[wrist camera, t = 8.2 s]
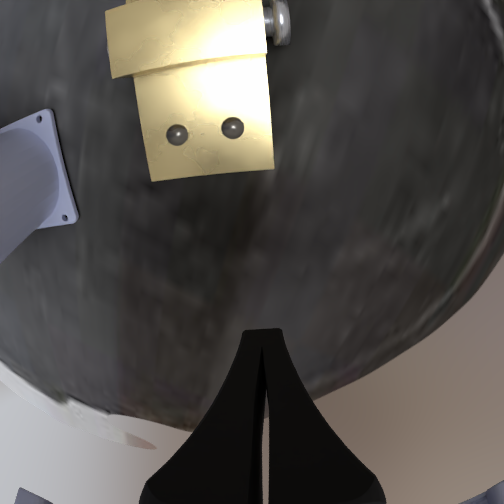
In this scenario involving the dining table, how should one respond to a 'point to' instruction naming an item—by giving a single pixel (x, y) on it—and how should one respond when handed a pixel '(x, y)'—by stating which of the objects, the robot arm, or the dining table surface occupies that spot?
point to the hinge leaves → (196, 83)
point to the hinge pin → (274, 22)
